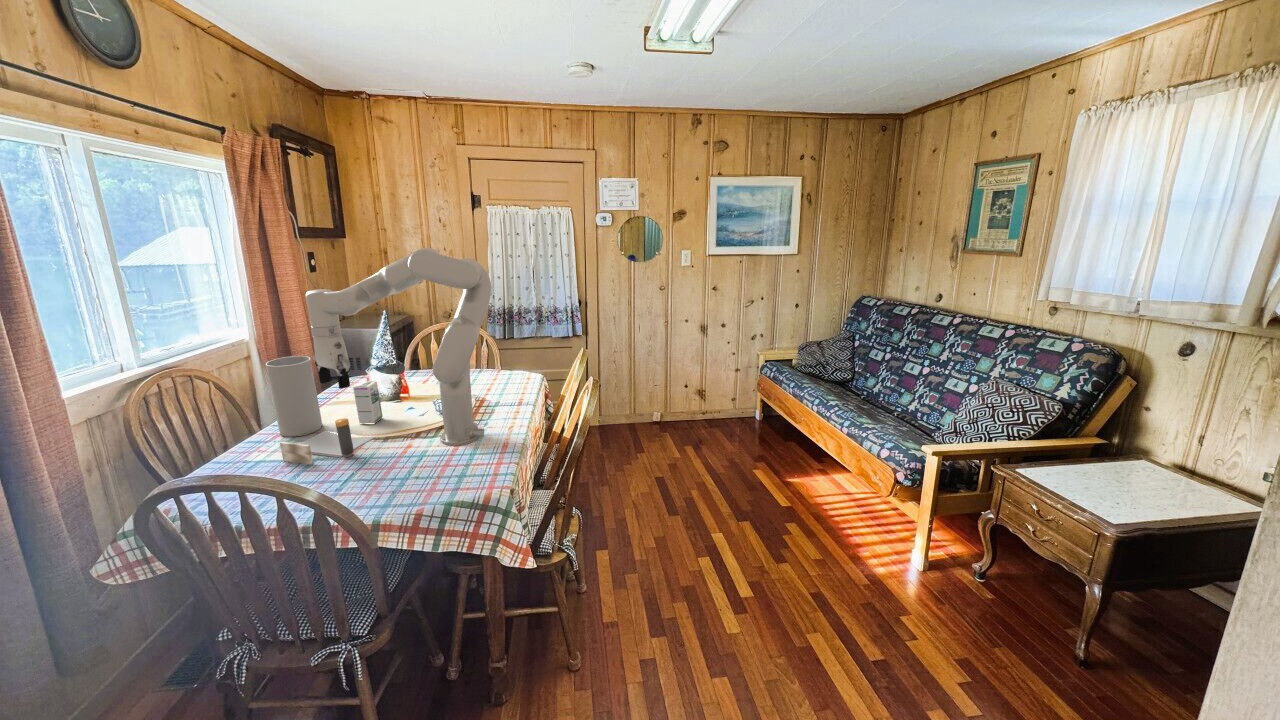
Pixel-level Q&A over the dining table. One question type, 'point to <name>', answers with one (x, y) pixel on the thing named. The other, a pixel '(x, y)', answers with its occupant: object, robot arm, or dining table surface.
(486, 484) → the dining table surface
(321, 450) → the notepad
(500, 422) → the dining table surface
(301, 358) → the cylinder vase
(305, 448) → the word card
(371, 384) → the syrup box
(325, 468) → the dining table surface
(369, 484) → the dining table surface
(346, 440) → the marker
